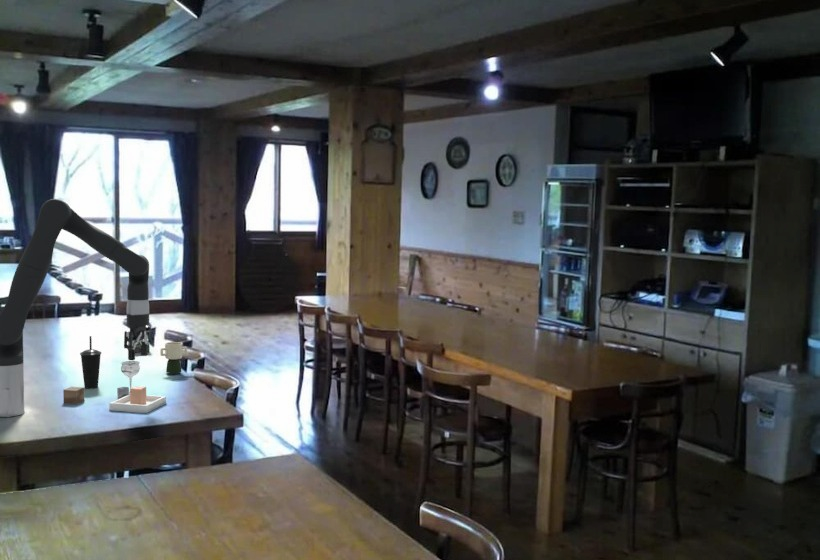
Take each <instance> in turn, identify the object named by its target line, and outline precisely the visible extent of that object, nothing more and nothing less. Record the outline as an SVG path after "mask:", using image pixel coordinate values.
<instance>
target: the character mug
mask: <svg viewBox="0 0 820 560" xmlns="http://www.w3.org/2000/svg"><path fill="white" fill-rule="evenodd" d="M183 350H184V351H183ZM187 354H188V347H187V346H183V342H179V341H170V342H166V343H164V347H161V348H160V356H161V357H165V359H167V361H166V369H165V370H166V371H165V372H166V373H167V374H170V373H171V374H170V375H172V374H173V375H175V374H176V375H177V374H180V373H181V372H182V365H181V360H180V359H182V358H183V356H184V355H187Z"/></svg>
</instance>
